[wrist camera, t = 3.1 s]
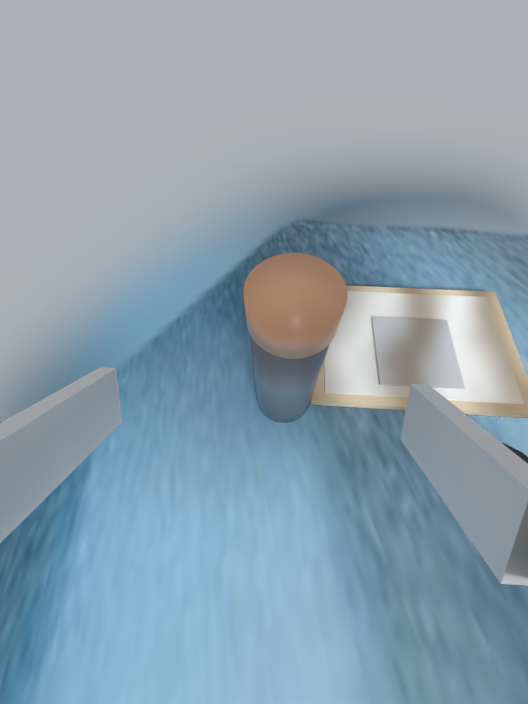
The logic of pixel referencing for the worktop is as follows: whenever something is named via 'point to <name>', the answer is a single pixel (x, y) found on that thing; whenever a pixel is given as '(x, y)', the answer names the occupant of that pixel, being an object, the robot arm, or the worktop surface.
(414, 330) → the wooden picture frame
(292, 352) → the marker
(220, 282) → the worktop surface
